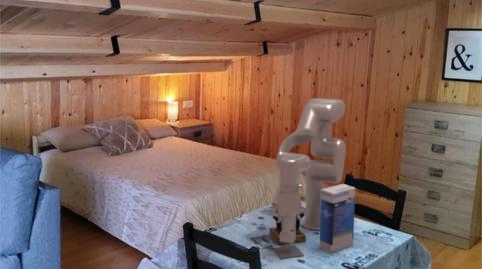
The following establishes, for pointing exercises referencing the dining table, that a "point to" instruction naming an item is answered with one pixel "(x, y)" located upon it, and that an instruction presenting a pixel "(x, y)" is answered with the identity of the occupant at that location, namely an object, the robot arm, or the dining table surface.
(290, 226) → the skincare box
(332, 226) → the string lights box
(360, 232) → the dining table surface
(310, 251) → the dining table surface
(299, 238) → the holder
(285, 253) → the mat
